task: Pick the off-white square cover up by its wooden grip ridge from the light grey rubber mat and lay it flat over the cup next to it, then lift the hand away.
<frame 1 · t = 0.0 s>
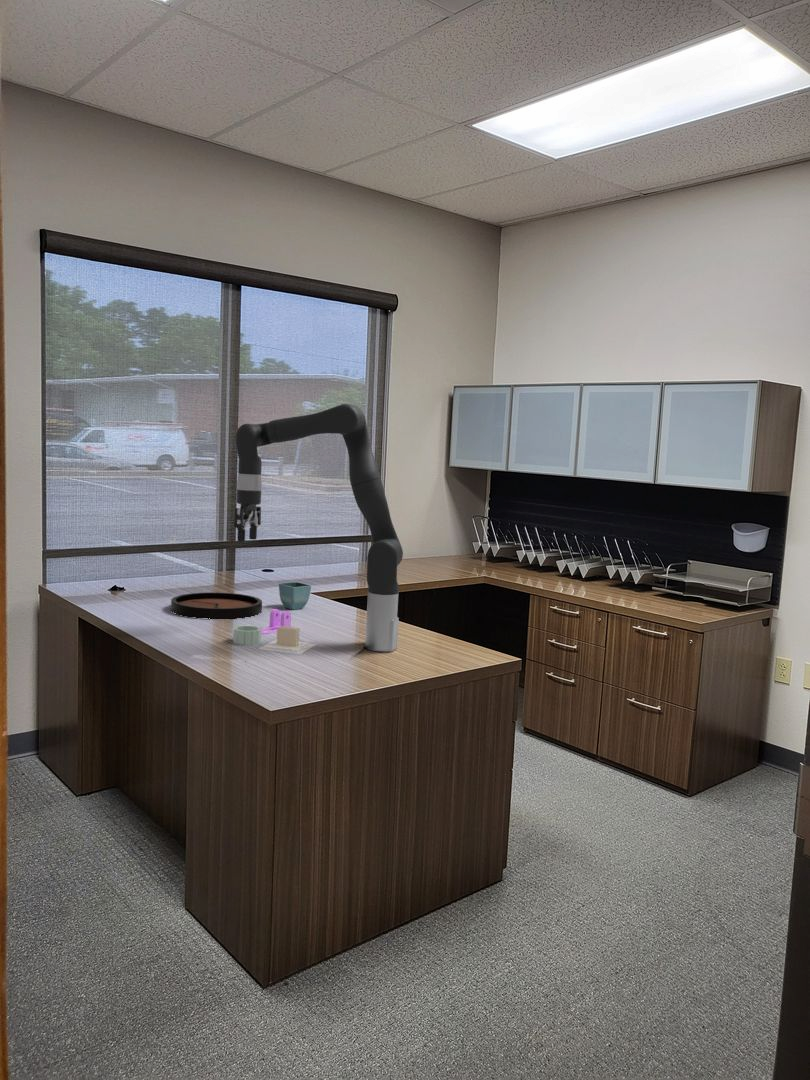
hand: (247, 540, 265), 29 cm above the table, tool pointing down, fingers open, 8 cm apart
cup: (246, 644, 252), on the table
wall clock: (216, 611, 300), on the table
cover: (287, 646, 249), point 1 cm above the table, touching mat
bracket: (270, 634, 269), on the table
mat: (287, 649, 249), on the table
flower pot: (294, 608, 312), on the table
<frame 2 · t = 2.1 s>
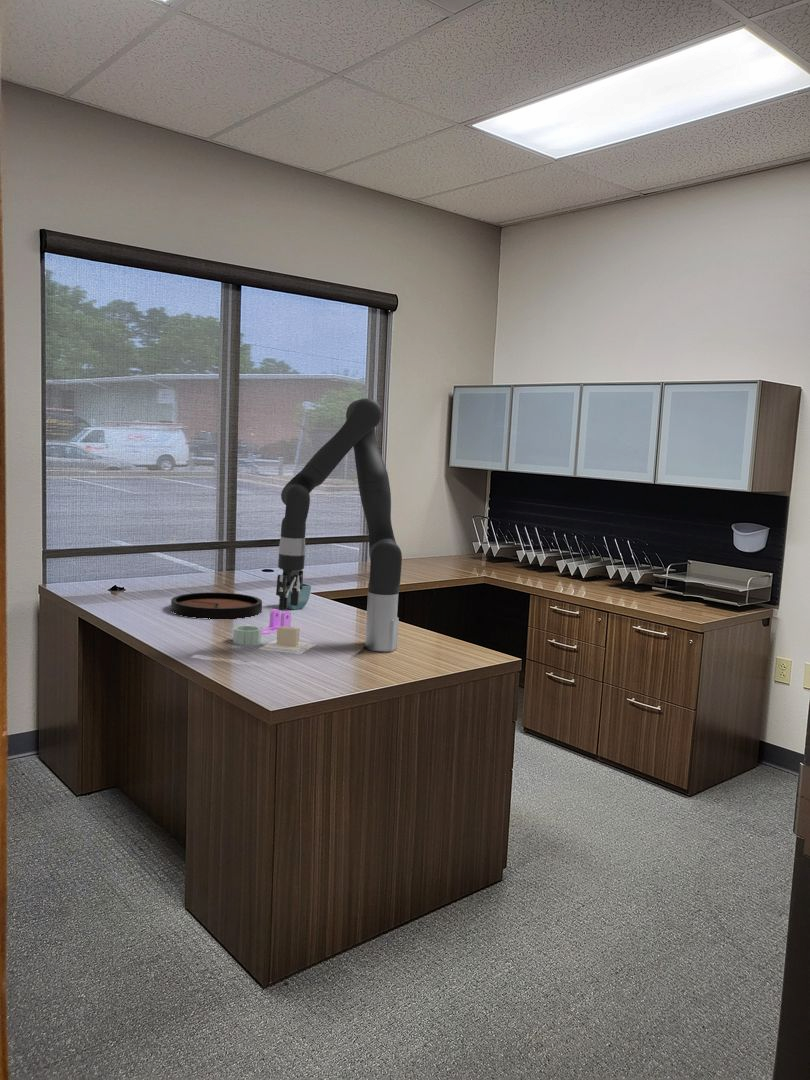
hand: (288, 607, 248), 13 cm above the table, tool pointing down, fingers open, 8 cm apart
nothing on the table moved.
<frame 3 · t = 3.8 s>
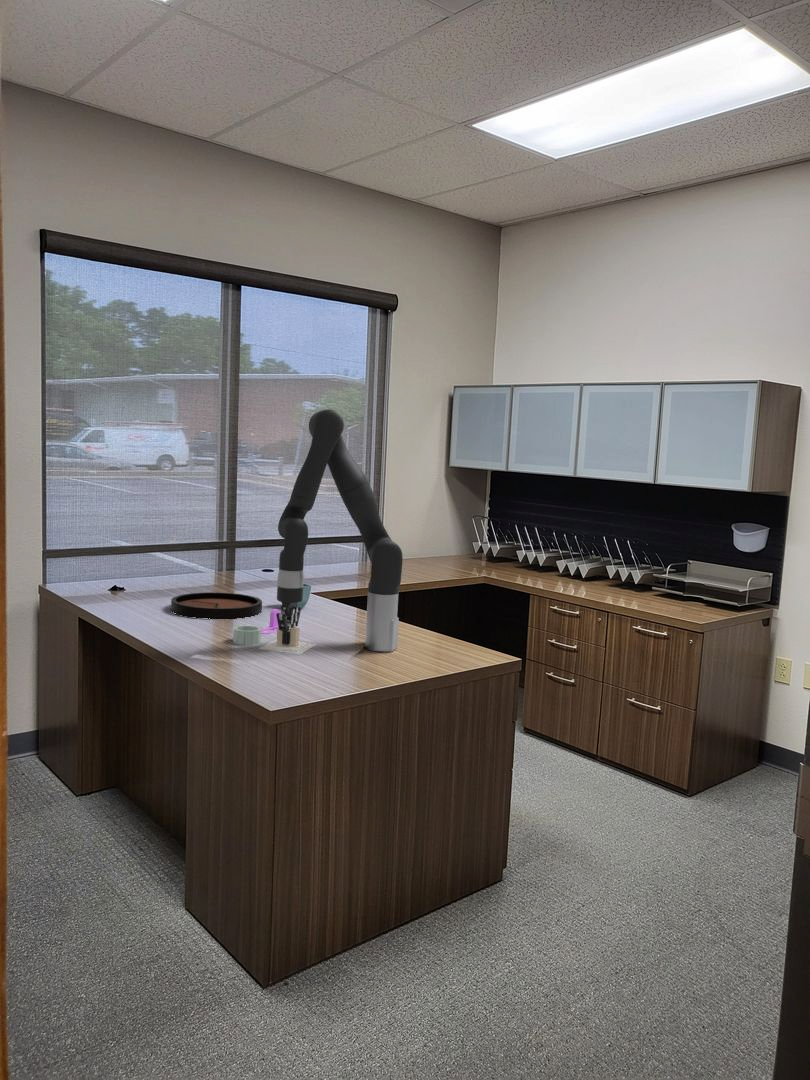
hand: (287, 642, 249), 2 cm above the table, tool pointing down, fingers closed on cover, 2 cm apart
cover: (287, 646, 249), point 1 cm above the table, touching gripper, mat
everything else where it was.
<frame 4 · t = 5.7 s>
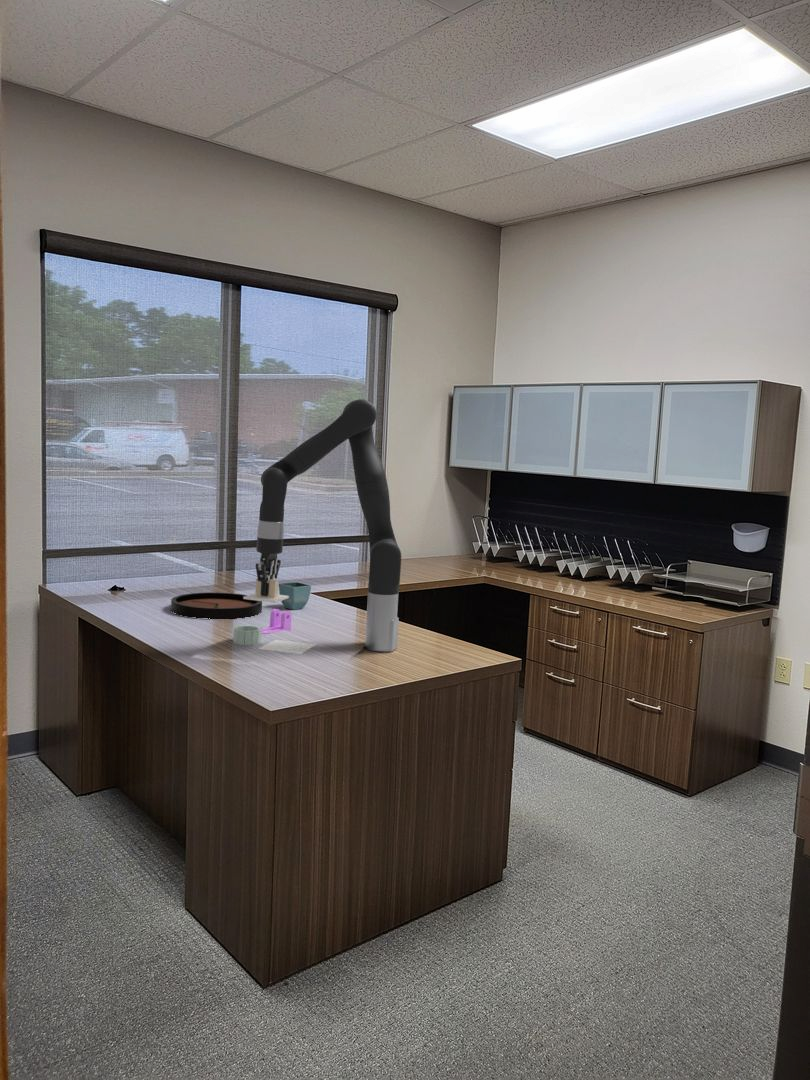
hand: (266, 594, 249), 16 cm above the table, tool pointing down, fingers closed on cover, 2 cm apart
cover: (266, 598, 249), point 15 cm above the table, touching gripper
everything else where it was.
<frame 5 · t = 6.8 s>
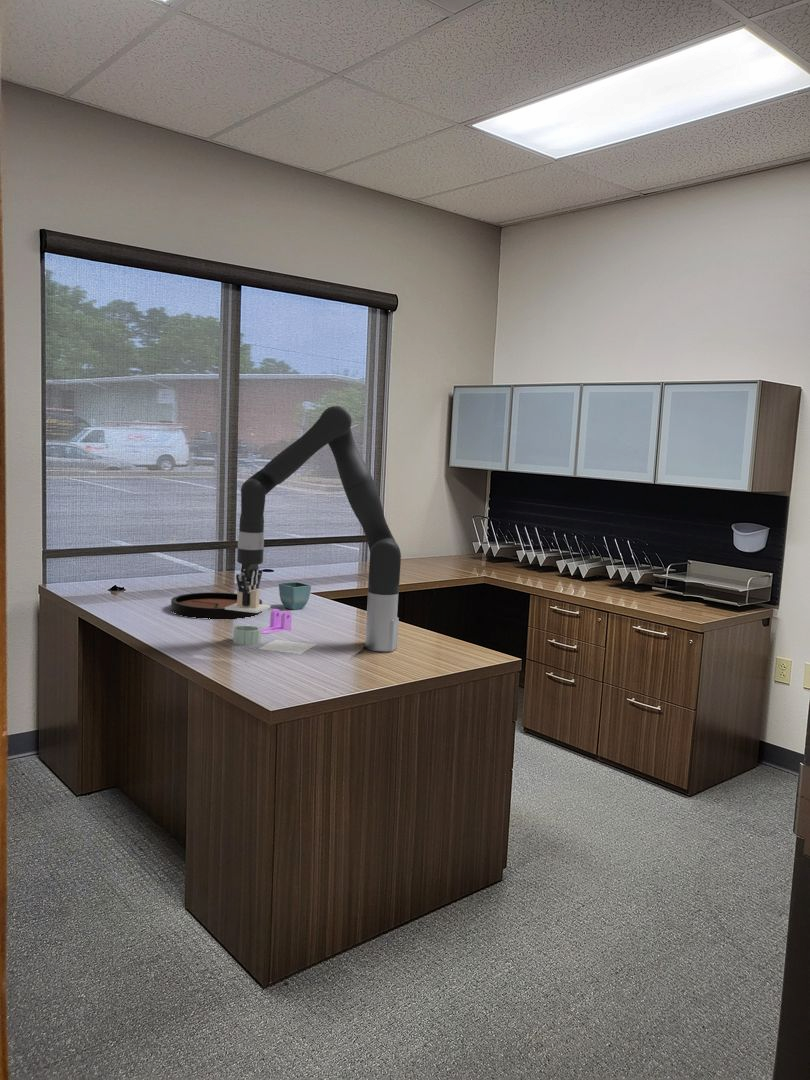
hand: (248, 604, 251), 12 cm above the table, tool pointing down, fingers closed on cover, 2 cm apart
cover: (247, 608, 251), point 11 cm above the table, touching gripper
everything else where it was.
when the fingers open (7 cm above the table, at t = 7.8 s): cover stays where it is, resting on cup.
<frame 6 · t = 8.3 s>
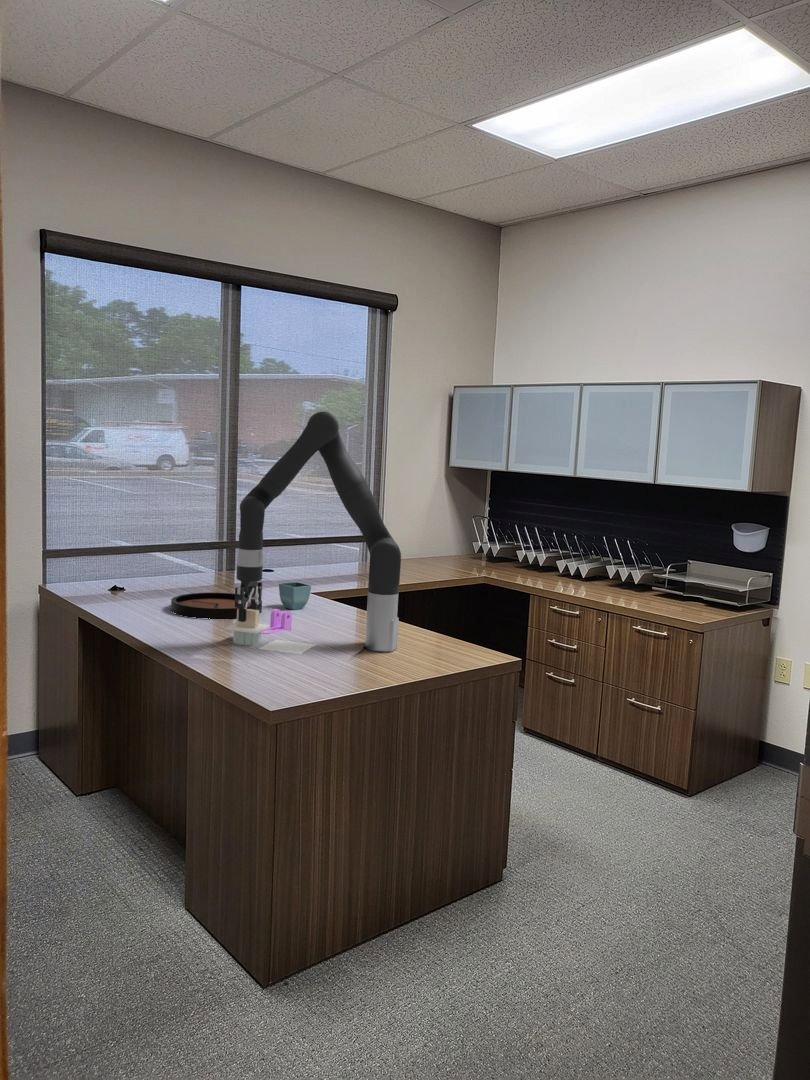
hand: (247, 619, 251), 8 cm above the table, tool pointing down, fingers open, 7 cm apart
cover: (247, 628, 252), point 5 cm above the table, touching cup
everything else where it was.
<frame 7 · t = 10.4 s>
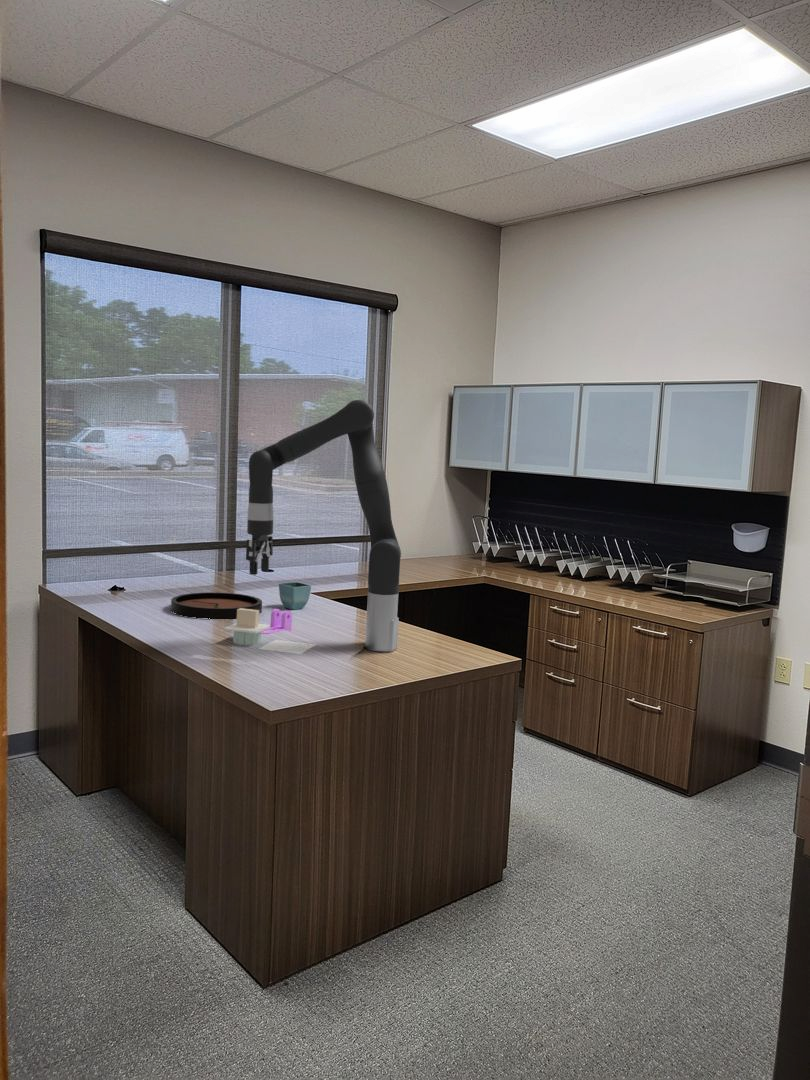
hand: (259, 572, 252), 22 cm above the table, tool pointing down, fingers open, 8 cm apart
nothing on the table moved.
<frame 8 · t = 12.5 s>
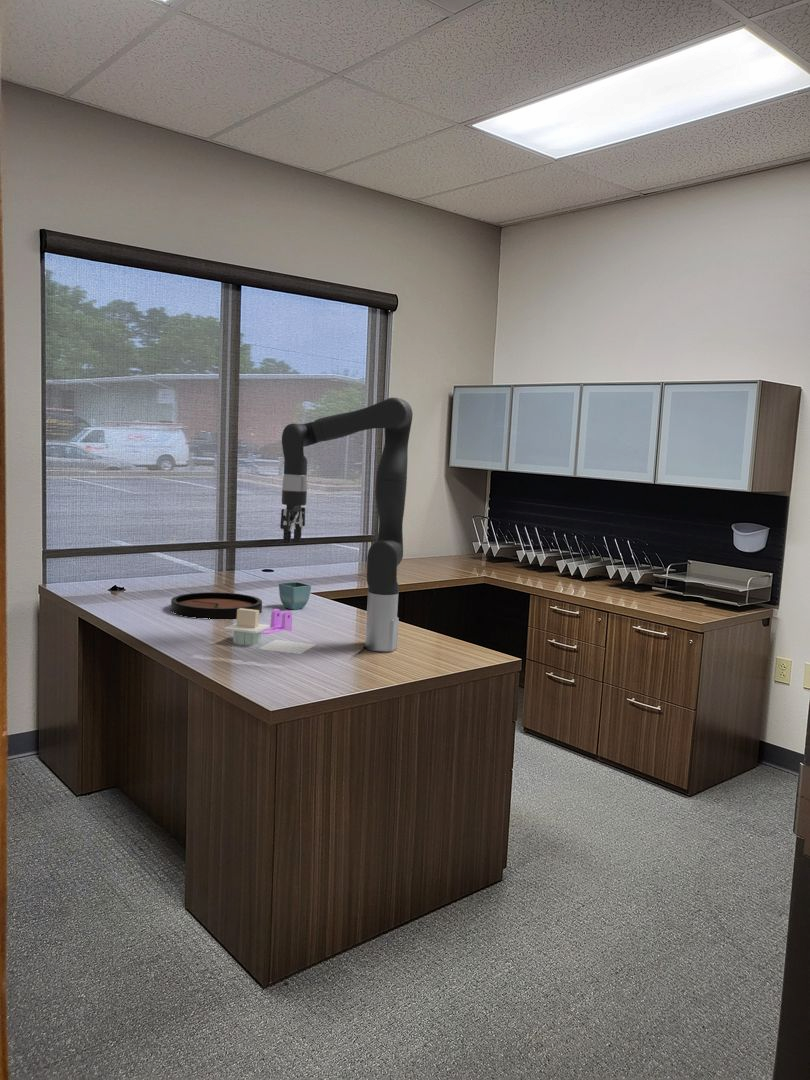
hand: (292, 541, 262), 30 cm above the table, tool pointing down, fingers open, 8 cm apart
nothing on the table moved.
at the end: cover 0.0 cm off-centre on the cup, point 5.0 cm above the cup's base; cover tilted 0°; the gripper is holding nothing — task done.
